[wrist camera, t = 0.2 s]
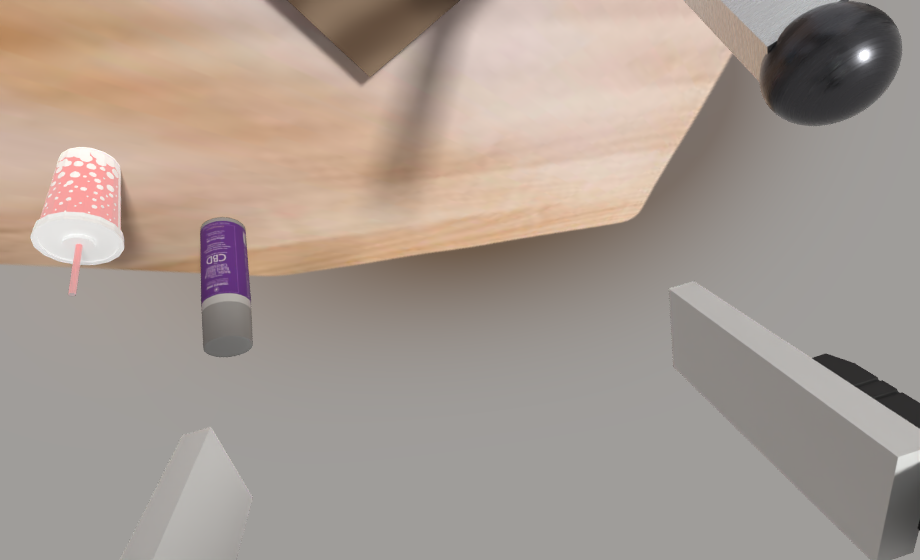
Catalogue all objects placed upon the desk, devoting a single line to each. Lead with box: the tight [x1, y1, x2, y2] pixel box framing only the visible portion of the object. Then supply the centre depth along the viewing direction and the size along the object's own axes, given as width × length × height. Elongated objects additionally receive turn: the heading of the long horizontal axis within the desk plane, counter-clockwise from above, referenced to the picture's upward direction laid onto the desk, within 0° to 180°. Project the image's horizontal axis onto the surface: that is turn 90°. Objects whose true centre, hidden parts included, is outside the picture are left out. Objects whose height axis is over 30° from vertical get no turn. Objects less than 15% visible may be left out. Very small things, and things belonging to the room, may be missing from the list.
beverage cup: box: [30, 147, 124, 296], centre depth 41 cm, size 6×6×14 cm
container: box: [200, 217, 253, 357], centre depth 53 cm, size 5×5×15 cm
